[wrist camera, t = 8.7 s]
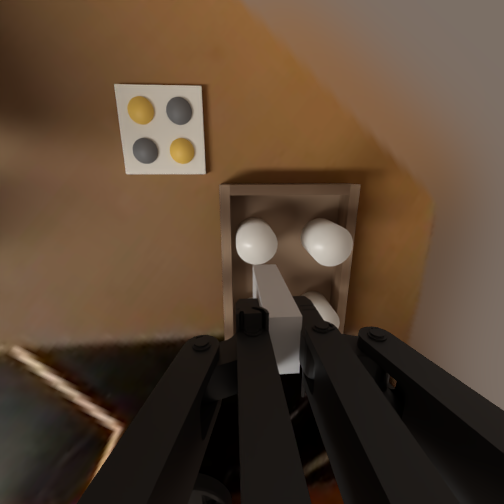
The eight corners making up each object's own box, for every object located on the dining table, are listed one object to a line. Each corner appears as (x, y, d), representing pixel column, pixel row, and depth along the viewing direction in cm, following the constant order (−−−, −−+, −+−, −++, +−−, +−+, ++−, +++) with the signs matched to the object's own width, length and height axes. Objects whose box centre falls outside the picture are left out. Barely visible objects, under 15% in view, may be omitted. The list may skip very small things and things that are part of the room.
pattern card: (206, 174, 27) (205, 174, 27) (128, 174, 27) (125, 174, 26) (201, 87, 25) (200, 85, 24) (116, 86, 25) (113, 83, 24)
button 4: (271, 252, 29) (276, 264, 25) (236, 253, 29) (236, 265, 25) (272, 217, 28) (278, 224, 24) (235, 217, 28) (235, 224, 24)
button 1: (325, 320, 32) (337, 339, 28) (293, 321, 32) (302, 341, 28) (328, 290, 31) (341, 307, 27) (295, 291, 31) (304, 308, 27)
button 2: (335, 253, 29) (350, 265, 25) (299, 254, 29) (309, 266, 25) (338, 218, 28) (355, 225, 24) (301, 218, 27) (312, 225, 24)
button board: (331, 338, 34) (340, 353, 32) (226, 343, 34) (225, 358, 31) (348, 183, 29) (360, 184, 26) (220, 183, 28) (219, 184, 25)
